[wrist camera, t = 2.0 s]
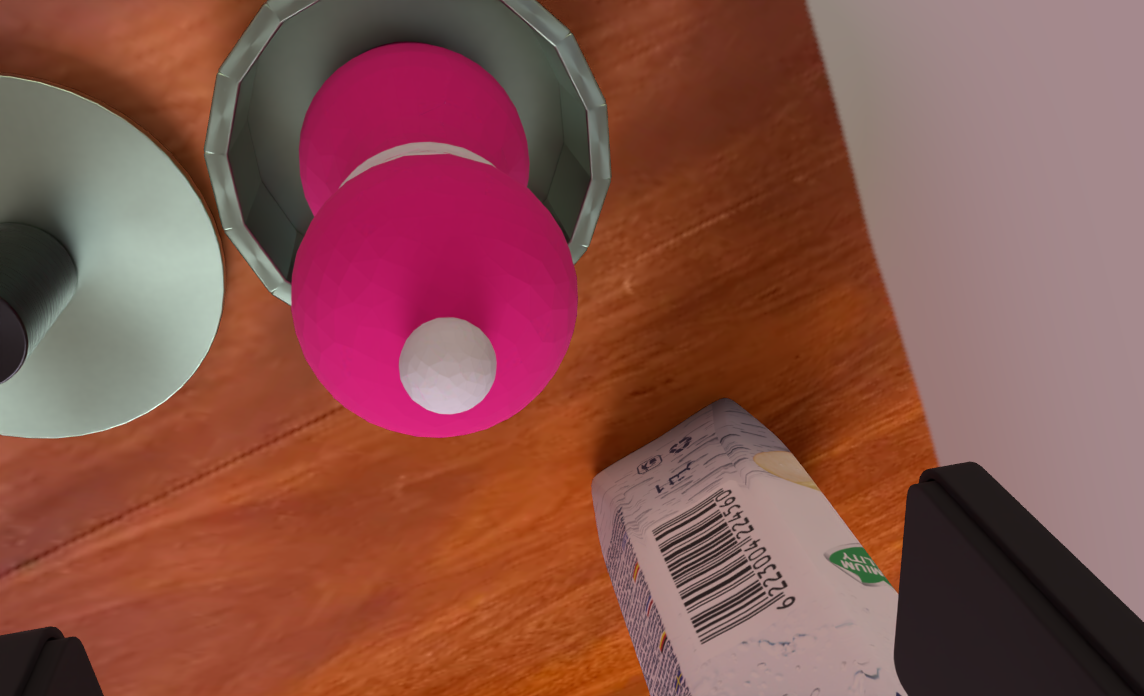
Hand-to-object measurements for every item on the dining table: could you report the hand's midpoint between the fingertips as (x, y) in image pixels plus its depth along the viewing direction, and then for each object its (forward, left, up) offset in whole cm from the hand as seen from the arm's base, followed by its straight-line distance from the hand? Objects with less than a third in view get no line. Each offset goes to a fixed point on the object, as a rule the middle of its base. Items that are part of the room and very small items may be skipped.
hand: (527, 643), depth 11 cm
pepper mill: (0, 0, -27) cm, 27 cm away
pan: (0, 0, -27) cm, 27 cm away
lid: (-14, -3, -26) cm, 30 cm away
